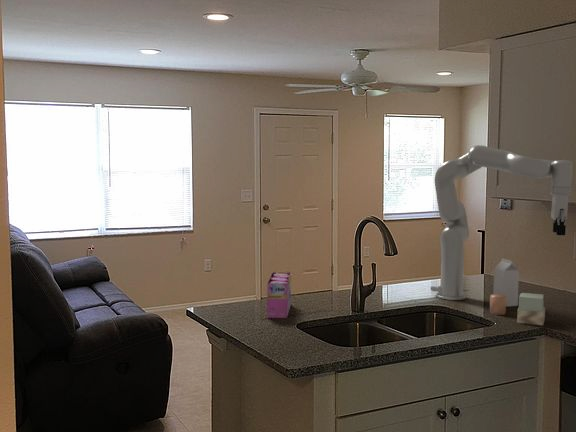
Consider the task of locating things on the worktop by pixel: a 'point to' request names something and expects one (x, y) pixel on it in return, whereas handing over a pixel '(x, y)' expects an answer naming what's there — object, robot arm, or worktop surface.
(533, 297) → the sage block
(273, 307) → the gum box
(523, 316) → the birch block
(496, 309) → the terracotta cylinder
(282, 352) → the worktop surface
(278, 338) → the worktop surface
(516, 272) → the milk carton
